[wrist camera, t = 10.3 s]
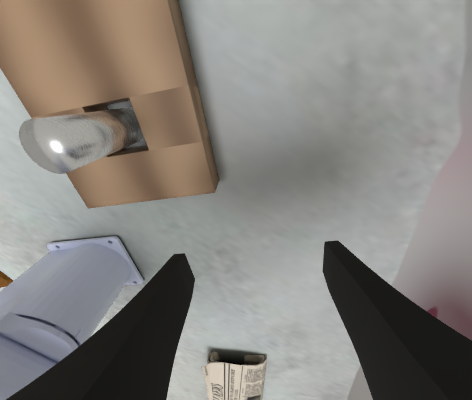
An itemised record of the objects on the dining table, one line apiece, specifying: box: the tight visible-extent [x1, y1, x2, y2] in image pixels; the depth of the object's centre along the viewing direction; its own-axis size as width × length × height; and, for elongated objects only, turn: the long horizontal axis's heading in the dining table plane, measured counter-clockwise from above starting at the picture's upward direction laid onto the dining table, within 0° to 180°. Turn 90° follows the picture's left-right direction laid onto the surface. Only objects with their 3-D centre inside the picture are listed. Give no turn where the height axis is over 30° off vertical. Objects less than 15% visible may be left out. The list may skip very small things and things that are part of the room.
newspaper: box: [202, 351, 267, 400], centre depth 41 cm, size 35×12×4 cm, turn 1°
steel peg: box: [19, 107, 145, 174], centre depth 13 cm, size 3×3×8 cm
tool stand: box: [0, 0, 219, 208], centre depth 13 cm, size 12×22×2 cm, turn 10°
